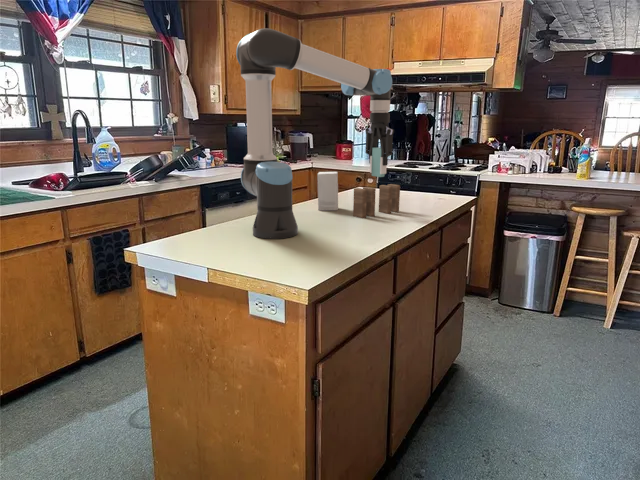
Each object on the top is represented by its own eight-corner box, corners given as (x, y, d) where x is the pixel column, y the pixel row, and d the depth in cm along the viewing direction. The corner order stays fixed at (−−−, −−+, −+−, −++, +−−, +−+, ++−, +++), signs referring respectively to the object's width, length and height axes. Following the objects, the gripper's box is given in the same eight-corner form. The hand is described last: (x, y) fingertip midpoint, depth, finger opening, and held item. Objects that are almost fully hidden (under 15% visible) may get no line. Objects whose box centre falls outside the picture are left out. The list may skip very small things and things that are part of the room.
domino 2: (370, 216, 187) (371, 188, 184) (362, 214, 191) (362, 187, 188) (374, 216, 189) (375, 188, 186) (366, 214, 192) (366, 186, 190)
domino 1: (361, 218, 185) (362, 190, 182) (353, 216, 188) (353, 188, 186) (365, 217, 186) (366, 189, 183) (357, 215, 190) (358, 187, 187)
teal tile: (380, 177, 186) (381, 148, 183) (371, 175, 190) (372, 147, 187) (384, 176, 187) (385, 148, 184) (375, 175, 191) (376, 147, 188)
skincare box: (338, 208, 204) (338, 171, 200) (337, 211, 198) (337, 173, 194) (318, 207, 205) (318, 171, 201) (317, 210, 199) (317, 173, 195)
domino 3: (387, 213, 193) (388, 186, 190) (378, 211, 196) (379, 185, 194) (391, 213, 194) (392, 186, 191) (382, 211, 198) (383, 184, 195)
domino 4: (395, 212, 195) (396, 185, 193) (386, 210, 199) (387, 184, 196) (398, 211, 197) (400, 185, 194) (390, 209, 201) (391, 183, 198)
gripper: (404, 112, 177) (401, 174, 183) (370, 112, 191) (369, 170, 197) (389, 112, 173) (387, 176, 179) (356, 112, 187) (355, 171, 193)
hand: (378, 173), depth 188 cm, fingers closed on teal tile, 5 cm apart
